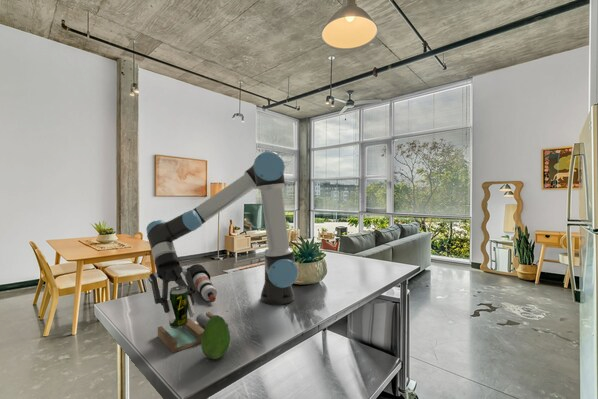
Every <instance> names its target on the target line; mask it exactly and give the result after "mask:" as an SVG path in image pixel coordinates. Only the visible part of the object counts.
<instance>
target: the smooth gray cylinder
mask: <svg viewBox="0 0 598 399" xmlns="http://www.w3.org/2000/svg"><path fill="white" fill-rule="evenodd" d="M209 319H210V318H208V317H207V316H206V314H204V313H199V314H198V315H196V318H195V321H197V323H199V324H200V325H201V326H203V327H204V328H205V327H206V325H207V323H208V321H209Z"/></svg>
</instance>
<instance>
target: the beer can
mask: <svg viewBox="0 0 598 399" xmlns="http://www.w3.org/2000/svg"><path fill="white" fill-rule="evenodd" d="M169 300H171V303H172V307H173V311H174V314H175V318H176V319H175V320H174V322H173V323H171V322H170V321H169V323H168V325H169V327H170V329H178V328H182V327H184V326H186V324H187V318H188V313H189V312H188V290H187V287H186V286H172V287H171V288H170V290H169Z"/></svg>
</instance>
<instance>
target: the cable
mask: <svg viewBox="0 0 598 399" xmlns="http://www.w3.org/2000/svg"><path fill="white" fill-rule="evenodd" d="M188 268H190V269H191V270H190V273H191V276H192V279H193V281H194V284H195V287H196V289H197V291H196V292H198V293H199V295H201V296H202V298H203V299H204V301H207V302H213V303H214V302H216V300H217V296H218V295H217V294H218V290H217V289H216V288H215V287H214V284H213V283H212V281H211V275H210V272H208V271H207V269H206V268H205V267H204V266H203V265H202V264H199V263H198V264H196V263H195V264H193V265H190V266H189V267H188Z"/></svg>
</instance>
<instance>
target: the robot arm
mask: <svg viewBox="0 0 598 399" xmlns="http://www.w3.org/2000/svg"><path fill="white" fill-rule="evenodd" d="M285 168H286V166H285V161H284V159H283V158H282V157H281V155H280V154H279V153H277V152H275V151H270V150H269V151H268V150H267V151H263V152H261V153H259V154H258V155H257V156H256V158H255V159H254V162H253V164H252V165H251V167H249V168H248V169H247V170H245V171H244V174H243V175H242V176H240V177H239V178H236V180H235V181H233V182H231V183H230V184H228V185H227V186H225V187H224V188H223V189H221V190H220V191H218V192H217V193H215V194H214V195H212V196H210V197H209V198H208V199H206V200H204V201H203V202H202V203H200V204H199V205H197V206H195V208H193V209H191V210H188V211H186V212H185V211H184V213H182V214H180V215H179V216H176V217H174V218H172V219H169V220H168V221H165V220H163V219H158V220H154V221H151V222H149V223H148V224H147V226H146V230H145V231H146V234H147V235H146V238H147V240H148V243H149V246H150V249H151V250H150V251H151V254H152V259H153V261H154V262H153V263H154V265H155V270H156V272H155V273H150V274H149V275H148V278H147V279H148V280H147V281H148V282H149V283H150V285H151V289H152V294H153V299H154V303H155V304H156V305H158V304H160V305H161V306H162V307H163V311H164V313H165V314H168V318H169V322H171V323H173V322H174V320H175V319H176V318H175V314H174V311H173V307H172V303H171V300H170V299H169V298H168V297H169V283H170V282H174V283H175V284H177V285H178V286H186V287H187V290H188V312H187V313H188V315H189V319H190V318H193V317H194V315H195V314H196V312H195V308H194V305H195V300H194V297H193V296H195V295H196V293H197V292H198V291H197V289H196V287H195V284H194V281H193V279H192V276H191V273H190V270H191V269H190V268H189V267H187V268H183V266H181V265H180V260H179V257H178V254H177V251H176V248H175V244H174V241H176V240H178V239H179V238H181V237H184V236H185V235H188V234H189V233H191V232H194V231H196V230H197V229H199V228H201V227H202V225H204V224H205V223H206V222H209V221H210V219H212V218H214V217H215V216H216V215H217V214H219V213H221V212H222V211H224V210H225V209H227V208H228V207H229V206H231V205H233V204H234V203H236V202H237V201H238V200H240V199H241V198H243V197H244V196H245V195H248V193H250V192H252V191H253V190H259V192H260V194H261V202H262V211H263V219H264V224H265V225H264V226H265V232H266V233H265V234H266V241H267V249H265V250H264V284H263V286H262V290H261V293H260V301H261V302H262V303H264V304H267V305H273V306H274V305H278V306H279V305H286V304H289V303H291V302H293V301H294V300H295V292H294V289H293V286H292V285H293V284H294V283H295V282H296V281H297V279H298V276H299V268H298V265H297V264H296V260H295V252H294V249H293V248H292V247H290V242H289V235H288V226H287V220H286V212H285V211H286V210H285V203H284V197H283V196H284V195H283V188H284V186H286V185H285V184H286V183H285V175H284V172H285ZM182 274H183V276H184V278H185V281H186V282H185V281H184V279H183V276H182ZM158 279H160V280H161V281H162V290H161V292H160V287H159V282H158Z"/></svg>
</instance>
